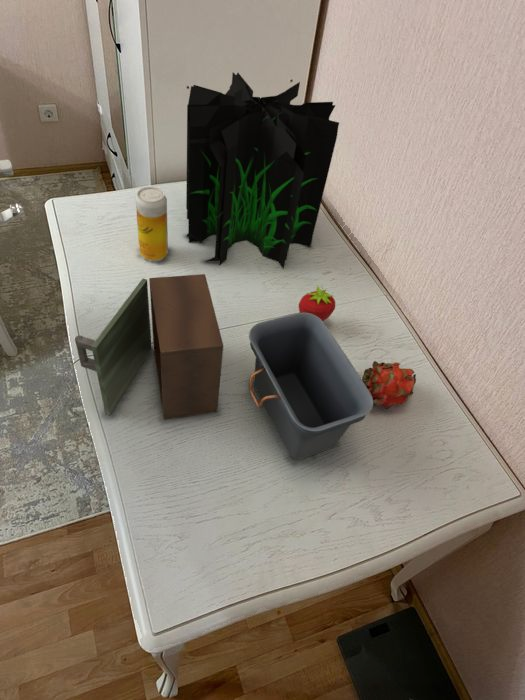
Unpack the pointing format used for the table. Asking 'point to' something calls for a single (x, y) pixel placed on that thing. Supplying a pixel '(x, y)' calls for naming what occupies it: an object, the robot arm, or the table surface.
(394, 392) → the dragon fruit
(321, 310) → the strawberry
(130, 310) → the cupboard door
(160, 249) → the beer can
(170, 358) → the cupboard
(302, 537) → the table surface
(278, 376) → the storage bin
